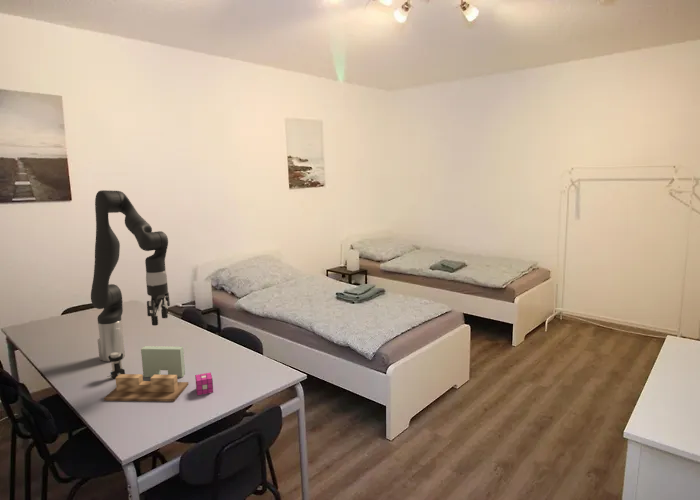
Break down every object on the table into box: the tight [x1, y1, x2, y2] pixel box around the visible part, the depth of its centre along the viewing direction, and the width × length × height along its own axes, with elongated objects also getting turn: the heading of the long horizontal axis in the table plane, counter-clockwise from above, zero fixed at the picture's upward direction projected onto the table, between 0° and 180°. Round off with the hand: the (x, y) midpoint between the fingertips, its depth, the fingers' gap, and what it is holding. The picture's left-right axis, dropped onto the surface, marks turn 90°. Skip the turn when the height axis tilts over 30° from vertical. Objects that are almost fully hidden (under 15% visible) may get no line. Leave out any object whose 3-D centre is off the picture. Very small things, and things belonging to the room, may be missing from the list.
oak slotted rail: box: [103, 373, 189, 402], centre depth 165 cm, size 26×13×6 cm, turn 88°
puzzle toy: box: [195, 372, 214, 396], centre depth 166 cm, size 6×6×6 cm
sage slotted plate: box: [140, 345, 186, 378], centre depth 178 cm, size 16×3×12 cm, turn 88°
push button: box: [106, 352, 126, 380], centre depth 177 cm, size 7×5×10 cm
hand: (160, 321), depth 175 cm, fingers open, 8 cm apart
